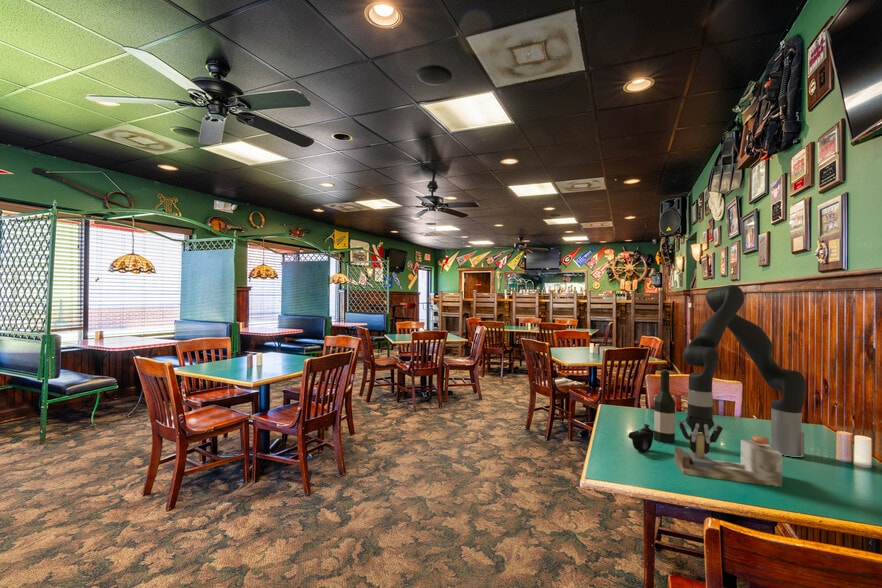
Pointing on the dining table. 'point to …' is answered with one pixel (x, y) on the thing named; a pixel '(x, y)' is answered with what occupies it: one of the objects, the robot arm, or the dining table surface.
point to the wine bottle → (664, 412)
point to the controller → (642, 438)
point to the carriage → (700, 453)
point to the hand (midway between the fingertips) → (699, 452)
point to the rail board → (740, 465)
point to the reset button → (760, 440)
